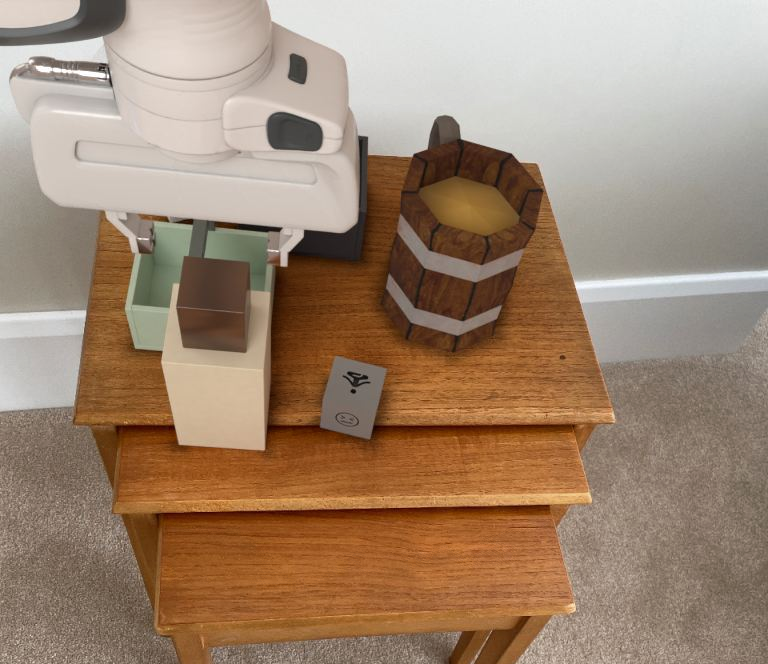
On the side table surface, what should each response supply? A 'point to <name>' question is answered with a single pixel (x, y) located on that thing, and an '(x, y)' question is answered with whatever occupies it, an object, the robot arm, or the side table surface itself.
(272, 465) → the side table surface
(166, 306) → the basket with handle
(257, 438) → the stand
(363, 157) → the black open box
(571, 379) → the side table surface
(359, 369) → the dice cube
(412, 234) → the mug
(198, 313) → the block
